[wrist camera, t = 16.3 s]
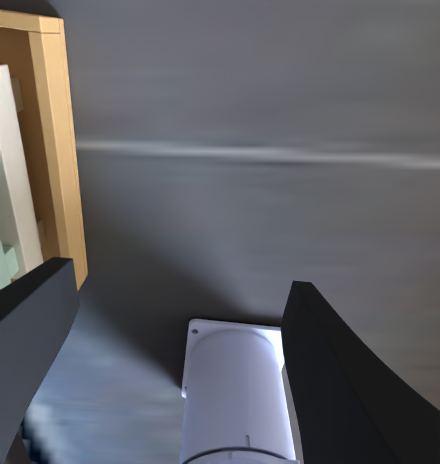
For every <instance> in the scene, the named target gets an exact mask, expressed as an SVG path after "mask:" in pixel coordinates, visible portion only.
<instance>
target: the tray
mask: <svg viewBox="0 0 440 464" xmlns="http://www.w3.org/2000/svg"><path fill="white" fill-rule="evenodd" d="M0 63H3V64H7V65H8V68H9V73H10V76H16V77H19V81H20V87H21V93H22V99H23V105H24V110H23V111H20V112H18V113H17V117H18V123H19V128H20V134H21V139H22V145H23V151H24V156H25V162H26V167H27V173H28V178H29V184H30V189H31V195H32V200H33V206H34V211H35V217H36V218H42V219H43V224H44V230H45V236H46V241H45V242H44V243H43V244H42V245H41V250H42V256H43V261H44V262H45V261H47V260H49V259H50V258H52V257H64V258H73V262H74V269H75V276H76V284H77V291H78V290H79V289H80V287H81V285H82V284H83V282H84V280H85V278H86V277H87V275H88V269H87V259H86V248H85V238H84V228H83V218H82V208H81V197H80V187H79V177H78V167H77V157H76V146H75V136H74V126H73V116H72V106H71V95H70V85H69V75H68V65H67V55H66V44H65V34H64V24H63V19H62V18H56V17H50V16H43V15H36V14H29V13H22V12H16V11H9V10H2V9H0ZM44 262H43V263H44ZM15 280H17V279H12V278H11V283H12V282H14V281H15Z"/></svg>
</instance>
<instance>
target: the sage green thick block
mask: <svg viewBox="0 0 440 464" xmlns="http://www.w3.org/2000/svg"><path fill="white" fill-rule="evenodd" d="M18 270H19V267H18V263H17V259H16V254H15V250H14V247H13V246H5V245H2V243H1V239H0V290H1V289H2V288H4V287H6V286H7V285H9V284H10V283H11V278H12V277H13V276H14V275H15V274H16V273H17V271H18Z"/></svg>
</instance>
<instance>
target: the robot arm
mask: <svg viewBox="0 0 440 464" xmlns="http://www.w3.org/2000/svg"><path fill="white" fill-rule="evenodd" d="M78 309H79V298H78V291H77V284H76V276H75V269H74V262H73V258H64V257H52V258H50V259H49V260H47V261H45V262H44V263H42V264H40V265H39V266H37V267H36V268H34V269H33V270H31V271H29V272H28V273H26V274H25V275H23V276H22V277H20V278H18V279H17V280H15V281H14V282H12V283H10V284H9V285H7V286H6V287H4V288H2V289H1V290H0V464H3V463H4V461H5V458H6V456H7V453H8V450H9V449H10V446H11V444H12V442H13V440H14V437H15V435H16V433H17V431H18V428H19V426H20V424H21V421H22V419H23V417H24V415H25V413H26V411H27V409H28V407H29V405H30V403H31V401H32V399H33V397H34V395H35V394H36V392H37V390H38V388H39V386H40V385H41V383H42V381H43V379H44V377H45V376H46V374H47V372H48V370H49V369H50V367H51V365H52V363H53V361H54V360H55V358H56V356H57V354H58V352H59V351H60V349H61V347H62V345H63V343H64V341H65V340H66V338H67V336H68V334H69V331H70V329H71V327H72V324H73V322H74V319H75V317H76V314H77V311H78ZM193 329H196V330H193ZM284 361H285V366H286V370H287V375H288V379H289V384H290V388H291V393H292V397H293V402H294V406H295V411H296V415H297V419H298V425H299V430H300V436H301V443H302V451H303V459H304V464H440V411H439V410H438V409H437V408H436V407H434V406H433V405H432V404H431V403H429V402H428V401H427V400H426V399H424V398H423V397H422V396H421V395H419V394H418V393H417V392H416V391H415V390H413V389H412V388H411V387H410V386H409V385H408V384H406V383H405V382H404V381H403V380H402V379H401V378H400V377H399V376H398V375H396V374H395V373H394V372H393V371H392V370H391V369H390V368H389V367H388V366H386V365H385V364H384V363H383V362H382V361H381V360H380V359H379V358H378V357H377V356H376V355H375V354H374V353H373V352H372V351H371V350H370V349H369V348H368V347H367V346H366V345H365V344H364V343H363V342H362V341H361V339H360V338H359V337H358V336H357V335H356V334H355V333H354V332H353V331H352V330H351V329H350V327H349V326H348V325H347V324H346V323H345V322H344V321H343V320H342V318H341V317H340V316H339V315H338V314H337V313H336V311H335V310H334V309H333V308H332V307H331V305H330V304H329V303H328V302H327V301H326V299H325V298H324V297H323V296H322V295H321V293H320V292H319V291H318V290H317V289H316V287H315V286H314V285H313V284H312V283H311V282H301V281H293V283H292V286H291V290H290V293H289V297H288V300H287V304H286V307H285V310H284V314H283V317H282V321H281V324H280V327H271V326H262V325H252V324H242V323H232V322H222V321H212V320H203V319H192V320H191V321H190V322H189V328H188V337H187V346H186V355H185V364H184V374H183V383H182V392H181V395H182V396H183V397H184V398H186V401H185V410H184V419H183V429H182V438H181V447H180V456H179V464H300V461H299V460H296V458H295V452H294V446H293V440H292V434H291V428H290V422H289V416H288V410H287V404H286V398H285V392H284V386H283V380H282V374H281V369H282V366H283V363H284Z"/></svg>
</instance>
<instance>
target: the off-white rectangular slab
mask: <svg viewBox="0 0 440 464" xmlns="http://www.w3.org/2000/svg"><path fill="white" fill-rule="evenodd" d="M23 110H24V105H23V99H22V93H21V87H20V81H19V77H16V76H10V73H9V68H8V65H7V64H3V63H0V239H1V243H2V245H5V246H13V247H14V250H15V254H16V259H17V263H18V267H19V270H18V271H17V273H16V274H15V275H14V276H13V277H12V279H18V278H20V277H22V276H23V275H25V274H26V273H28V272H29V271H31V270H33V269H34V268H36V267H37V266H39V265H40V264H42V263H43V262H44V261H43V256H42V250H41V245H42V244H43V243H44V242H45V241H46V236H45V230H44V224H43V219H42V218H36V217H35V211H34V206H33V200H32V195H31V189H30V184H29V178H28V173H27V167H26V162H25V156H24V151H23V145H22V139H21V134H20V128H19V123H18V117H17V113H18V112H20V111H23Z"/></svg>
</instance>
